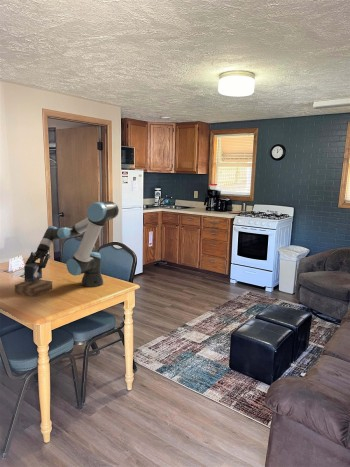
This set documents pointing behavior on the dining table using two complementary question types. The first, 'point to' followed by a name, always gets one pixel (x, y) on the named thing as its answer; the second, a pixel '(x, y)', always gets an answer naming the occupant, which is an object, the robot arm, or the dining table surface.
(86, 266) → the robot arm
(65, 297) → the dining table surface
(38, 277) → the small box
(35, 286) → the walnut block
